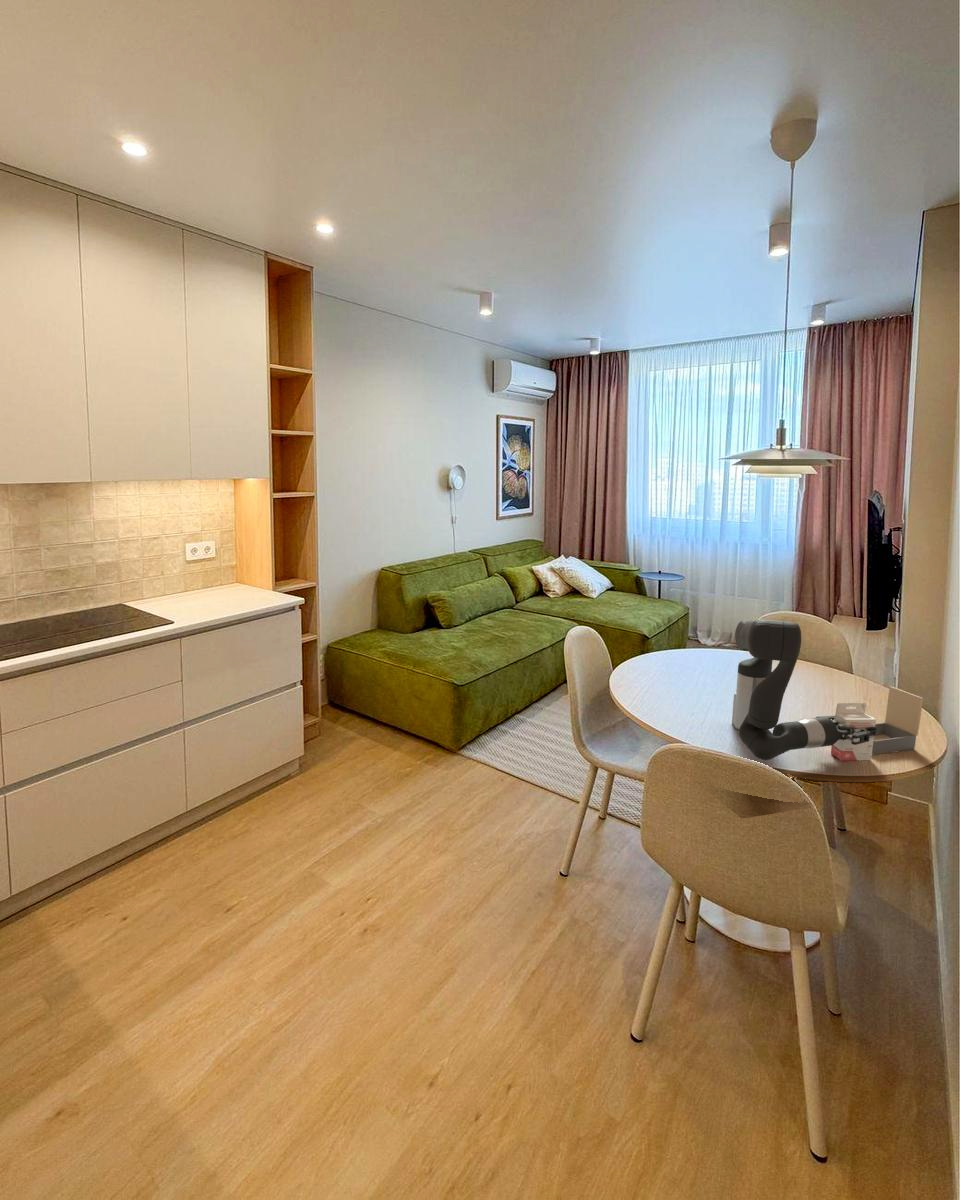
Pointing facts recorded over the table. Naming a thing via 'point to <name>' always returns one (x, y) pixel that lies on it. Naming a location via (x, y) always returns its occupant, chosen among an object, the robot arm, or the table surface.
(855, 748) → the ink cartridge box
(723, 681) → the table surface
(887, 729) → the mailer box
